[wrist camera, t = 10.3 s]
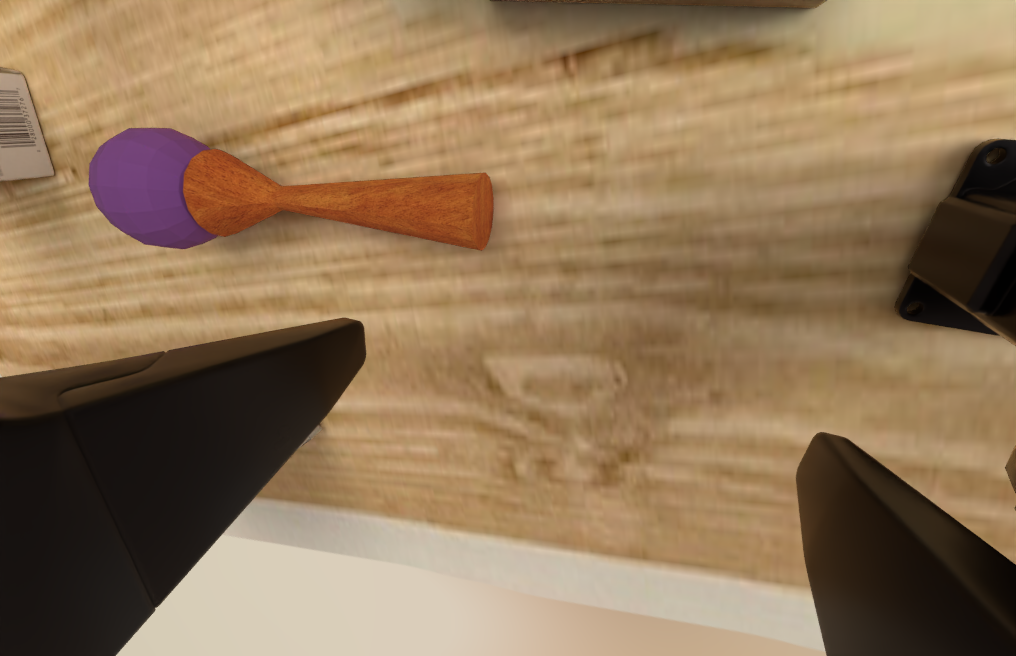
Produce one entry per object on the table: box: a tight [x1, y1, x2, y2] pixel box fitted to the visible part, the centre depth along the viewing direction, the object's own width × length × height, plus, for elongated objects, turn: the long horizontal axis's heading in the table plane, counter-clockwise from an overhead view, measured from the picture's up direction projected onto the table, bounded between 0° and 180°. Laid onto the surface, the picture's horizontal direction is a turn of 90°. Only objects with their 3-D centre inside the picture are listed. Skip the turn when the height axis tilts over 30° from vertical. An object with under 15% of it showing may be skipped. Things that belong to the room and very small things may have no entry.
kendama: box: [89, 128, 493, 251], centre depth 22 cm, size 6×6×20 cm
